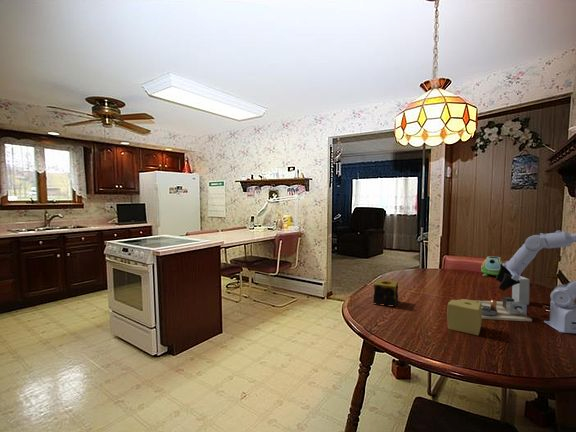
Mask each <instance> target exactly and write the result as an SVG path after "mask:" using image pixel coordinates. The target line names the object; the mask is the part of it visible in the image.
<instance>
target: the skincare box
mask: <svg viewBox="0 0 576 432" xmlns="http://www.w3.org/2000/svg"><path fill="white" fill-rule="evenodd" d="M519 281H520V283H519V284H515V285H513V286H511V288H512V289H511V290H512V291H511V298H513V299H514V302H523V303H525V304H527V306H529V305H530V279H529V278H527V277H524V276H521V275H520V278H519Z"/></svg>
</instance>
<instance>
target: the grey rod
mask: <svg viewBox="0 0 576 432" xmlns="http://www.w3.org/2000/svg"><path fill="white" fill-rule="evenodd" d="M506 301H511V302H514V299H513V298H512V296H511V297H510V296H502V302H503V307H504V308H505V309H506ZM515 309H516V310H517V311H519V312H520V313H524V310H522V309H521V308H519V307H518V306H515Z"/></svg>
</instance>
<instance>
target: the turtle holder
mask: <svg viewBox="0 0 576 432" xmlns="http://www.w3.org/2000/svg"><path fill="white" fill-rule="evenodd" d="M503 263H506V261H504V260H503V259H502V257H500V256H493V255H491V256H490V255H489V256H488V255H487V257H486V258H485V259H484V260H483V261H482V262H481V266H480V267H481V269H480V271H481V273H483V274H482V276H483V277H488V276H489V275H492V276H496V277H495V279H496V278H497V275H498V273H499V270H500V265H501V264H503Z"/></svg>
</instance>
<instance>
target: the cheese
mask: <svg viewBox="0 0 576 432" xmlns="http://www.w3.org/2000/svg"><path fill="white" fill-rule="evenodd" d="M477 301H478V300H475V301H473V300H471V299H465V298H461V299H451V300H450V301H448V303H447V310H446V319H447V328H448V330H452V331H456V332H460V333H464V334H470V335H473V336H479V335H480V332H481V327H482V320H483V319H482V303H481V302H477Z"/></svg>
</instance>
